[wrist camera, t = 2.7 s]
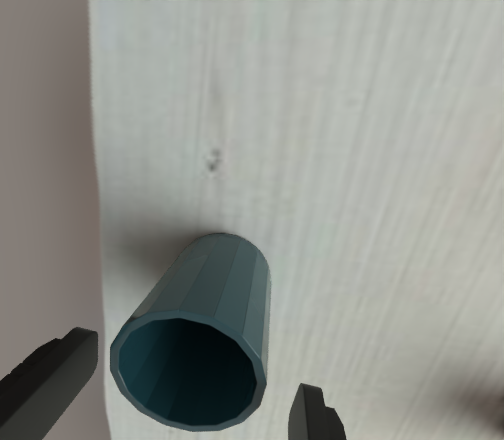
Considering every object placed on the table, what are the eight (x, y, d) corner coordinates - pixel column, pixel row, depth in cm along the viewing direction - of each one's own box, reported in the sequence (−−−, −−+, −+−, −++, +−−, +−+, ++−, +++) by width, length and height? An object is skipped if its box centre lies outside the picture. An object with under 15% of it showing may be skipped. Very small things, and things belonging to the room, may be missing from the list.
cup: (160, 261, 16) (78, 351, 10) (235, 215, 15) (200, 283, 8) (214, 327, 17) (175, 447, 11) (288, 291, 16) (296, 403, 9)
